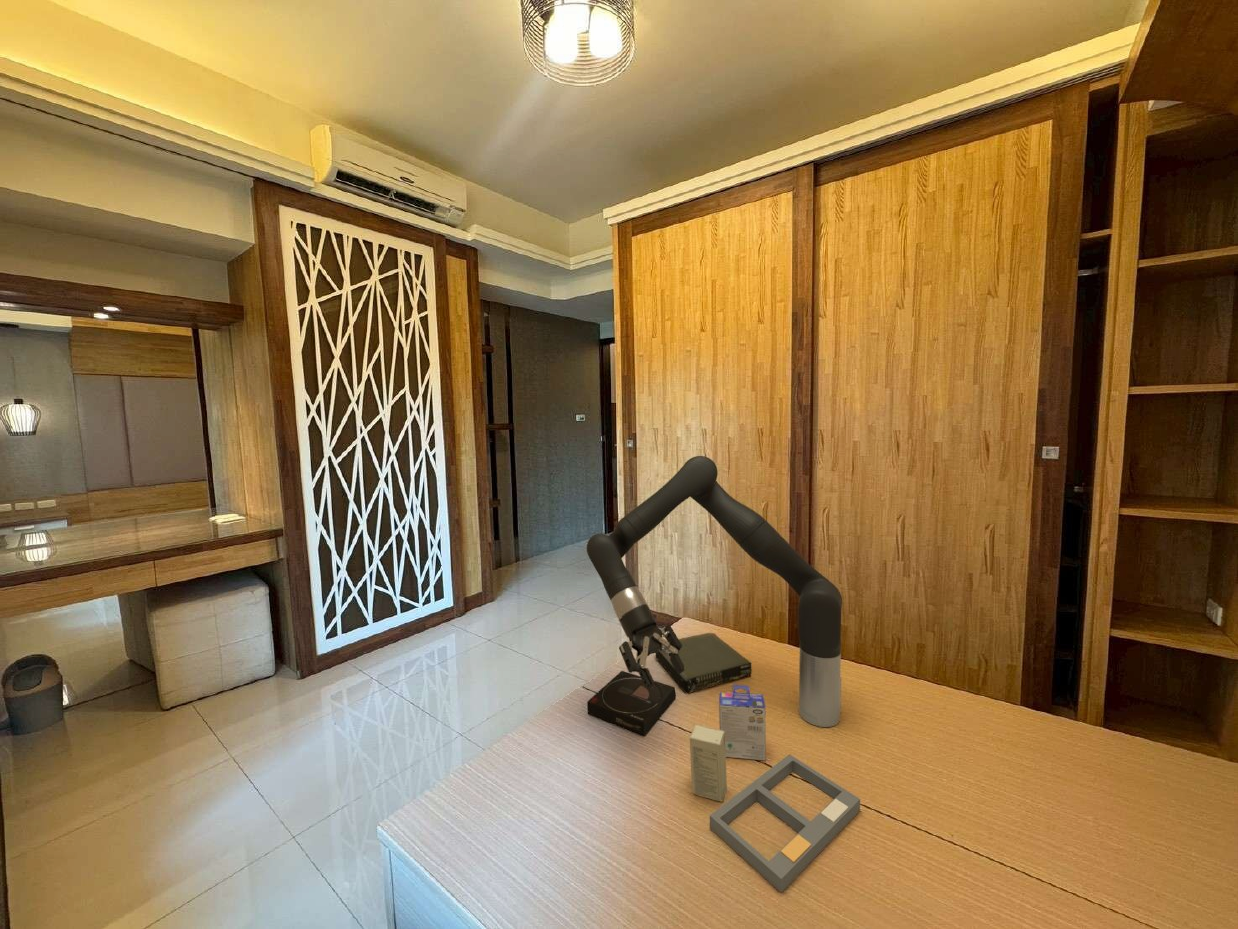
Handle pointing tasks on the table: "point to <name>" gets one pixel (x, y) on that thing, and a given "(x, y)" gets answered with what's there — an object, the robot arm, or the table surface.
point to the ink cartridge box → (743, 724)
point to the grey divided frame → (787, 822)
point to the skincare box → (708, 762)
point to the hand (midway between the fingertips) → (667, 679)
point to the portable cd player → (631, 703)
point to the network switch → (706, 662)
